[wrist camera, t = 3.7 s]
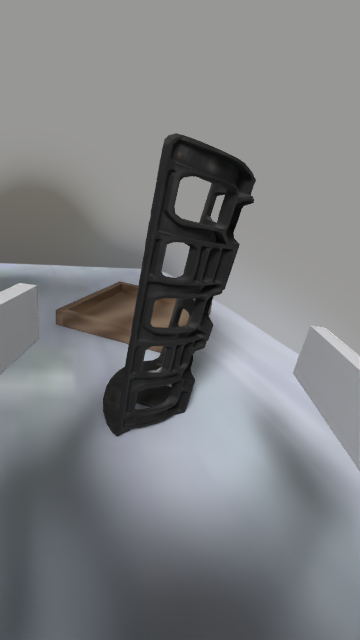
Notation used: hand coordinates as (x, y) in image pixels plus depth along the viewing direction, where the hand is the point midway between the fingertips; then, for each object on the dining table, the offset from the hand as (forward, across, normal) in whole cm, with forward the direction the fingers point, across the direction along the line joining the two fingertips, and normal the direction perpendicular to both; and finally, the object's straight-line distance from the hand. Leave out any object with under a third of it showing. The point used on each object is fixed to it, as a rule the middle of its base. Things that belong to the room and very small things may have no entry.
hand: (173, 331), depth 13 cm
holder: (+9, 0, -11) cm, 14 cm away
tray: (+27, -4, -11) cm, 29 cm away
